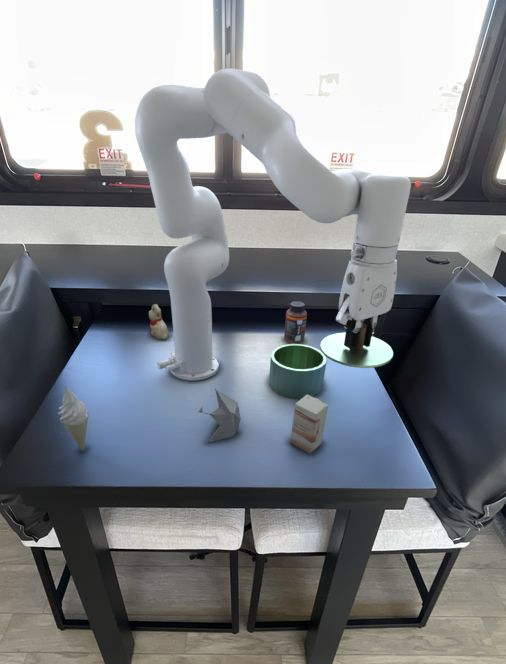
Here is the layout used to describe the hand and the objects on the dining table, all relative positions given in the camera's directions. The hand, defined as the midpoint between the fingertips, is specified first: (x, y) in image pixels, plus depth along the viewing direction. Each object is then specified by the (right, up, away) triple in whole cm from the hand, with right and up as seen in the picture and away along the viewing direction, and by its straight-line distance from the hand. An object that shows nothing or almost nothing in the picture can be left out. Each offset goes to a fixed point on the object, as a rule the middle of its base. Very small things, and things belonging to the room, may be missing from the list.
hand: (356, 345), depth 83 cm
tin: (-9, -7, +21) cm, 24 cm away
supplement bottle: (-7, +5, +41) cm, 42 cm away
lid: (0, -1, +1) cm, 1 cm away
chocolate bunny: (-47, +7, +42) cm, 64 cm away
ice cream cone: (-54, -21, -1) cm, 58 cm away
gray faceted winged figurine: (-27, -17, +6) cm, 33 cm away
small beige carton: (-10, -20, +2) cm, 22 cm away
